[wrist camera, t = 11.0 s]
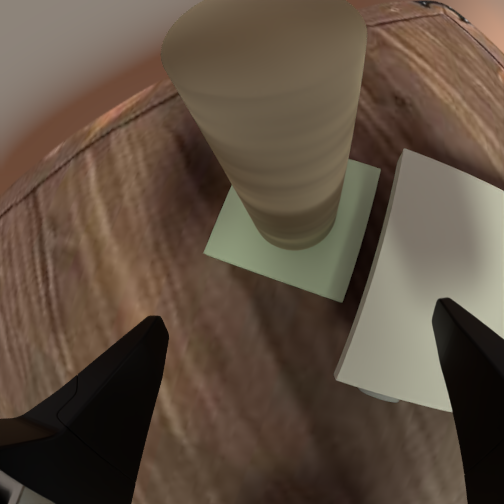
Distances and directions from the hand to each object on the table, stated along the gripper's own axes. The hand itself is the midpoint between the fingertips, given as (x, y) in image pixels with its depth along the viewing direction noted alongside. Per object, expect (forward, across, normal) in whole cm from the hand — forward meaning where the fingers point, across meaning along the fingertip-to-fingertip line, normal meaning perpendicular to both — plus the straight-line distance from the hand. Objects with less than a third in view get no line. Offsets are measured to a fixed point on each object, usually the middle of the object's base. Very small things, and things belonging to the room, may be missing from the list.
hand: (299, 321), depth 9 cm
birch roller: (+10, 0, +1) cm, 10 cm away
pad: (+11, 0, +1) cm, 11 cm away
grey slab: (+6, -11, +6) cm, 14 cm away
